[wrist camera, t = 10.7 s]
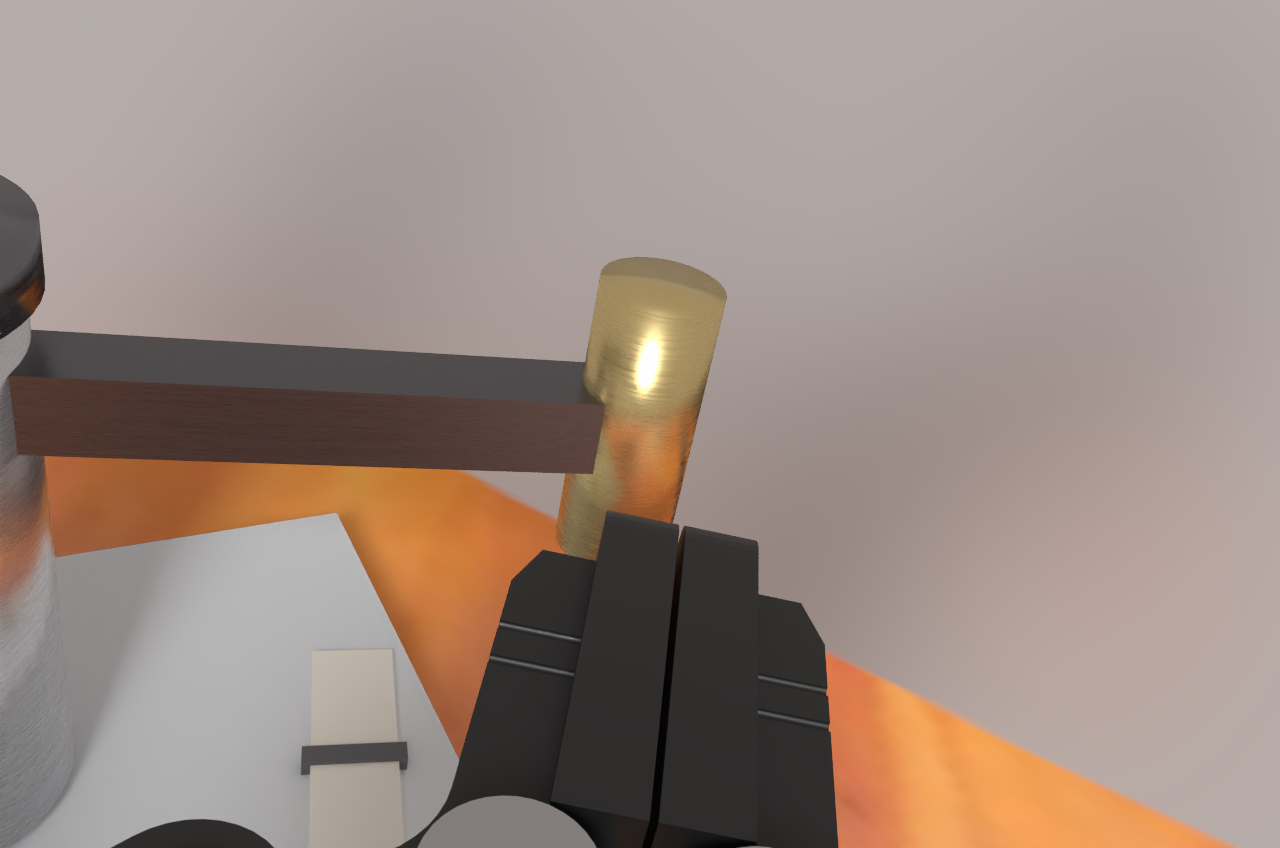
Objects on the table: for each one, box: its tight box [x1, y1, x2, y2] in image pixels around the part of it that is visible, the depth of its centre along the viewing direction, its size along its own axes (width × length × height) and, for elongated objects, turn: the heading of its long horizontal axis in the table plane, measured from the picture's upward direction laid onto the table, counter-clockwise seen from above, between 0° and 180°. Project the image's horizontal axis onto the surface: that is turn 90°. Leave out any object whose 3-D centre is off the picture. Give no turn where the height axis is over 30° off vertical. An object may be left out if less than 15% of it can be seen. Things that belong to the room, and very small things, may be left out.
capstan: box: [0, 175, 727, 848], centre depth 23 cm, size 18×7×13 cm, turn 101°
